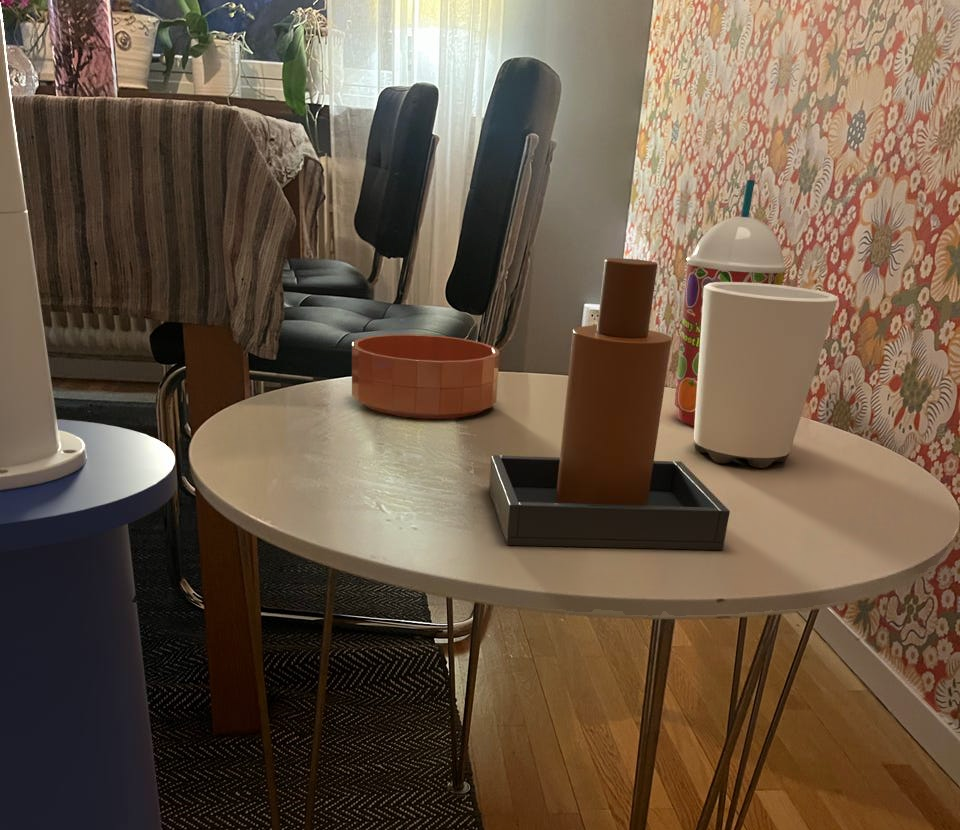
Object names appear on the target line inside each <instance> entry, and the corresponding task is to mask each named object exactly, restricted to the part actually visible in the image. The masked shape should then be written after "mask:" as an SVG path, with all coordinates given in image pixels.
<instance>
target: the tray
mask: <svg viewBox="0 0 960 830" xmlns="http://www.w3.org/2000/svg"><path fill="white" fill-rule="evenodd" d="M559 463H560V457H558V456H557V457H555V456H554V457H552V456H528V455H526V456H524V455H523V456H522V455H498V454H492V455H490V469H489V484H488V492H489V495H490V497H491V498H490V499H491V501H492V504H493V507H494V510H495V513H496V516H497V519H498V522H499V525H500V529H501V532H502V534H503V538H504V542H505V545H506V546H530V547H531V546H532V547H533V546H534V547H572V548H573V547H575V548H576V547H577V548H621V549H624V548H625V549H660V550H661V549H662V550H663V549H664V550H667V549H668V550H702V551H703V550H705V551H723V550H724V545H725V540H726V535H727V529H728V524H729V519H730V515H731V514H730V512H731V511H730V509H729V508H728V507H727V506H726V505H725V504H723V502H722V501H721V500H720V499H719V498H718V497H717V496H716V495H715V494H714V493H713V492H712V491H711V489H709V488H708V487H707V486H706V485H705V484H704V483H703V482H702V481H701V480H700V479H699V477H697V476H696V475H695V474H694V473H693V471H691V470H690V469H689V467H687V466H686V464H685V463H684V462H683V461H677V460H676V461H673V460H672V461H670V460H654V462H653V469H652V476H651V482H650V489H649V496H648V503H647V506H639V505H604V504H570V503H555V502H556V493H557V483H558V473H559Z"/></svg>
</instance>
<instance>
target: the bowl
mask: <svg viewBox="0 0 960 830" xmlns="http://www.w3.org/2000/svg"><path fill="white" fill-rule="evenodd" d="M500 354H501V353H500V351H499V350H498V348H496V347H495V346H492V345H490V344H488V343H485V342H480V341H477V340H472V339H465V338H460V337H454V336H444V335H432V334H416V333H415V334H413V333H412V334H409V333H407V334H401V333H399V334H382V335H380V334H379V335H371V336H365V337H361V338H358V339H356V340H353V341H352V343H351V397H352V398H353V399H354V400H355V401H357V402H358V403H361V404H363V405H364V406H365V407H367V408H368V409H370V410H372V411H374V412H375V411H376V412H379V413H383V414H385V415H390V416H395V417H396V416H397V417H403V418H413V419H429V420H432V419H433V420H443V419H446V420H447V419H460V418H466V417H471V416H475V415H477V414H480V413H482V412H483V411H484V410H487V409H490V408H492V407H493V406H494V405H495V404H496V403H497V396H498V395H497V394H498V383H499V382H498V380H499V368H500Z"/></svg>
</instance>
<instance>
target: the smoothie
mask: <svg viewBox="0 0 960 830" xmlns="http://www.w3.org/2000/svg"><path fill="white" fill-rule="evenodd" d="M755 183H756V180H755V179H746V182H745V189H744V194H743V199H742V205H741V207H742V208H741V212H740V215H736V216H732V217H728V218H726V219H723V220H722V221H719V222H717V223H716V224H713V226H711V227H710V228H709V229H708V230H707V231H706V232H705V233H704V234H703V236H702V237H701V238H700V240H699V241H698V243H697V244H696V246H695V248H694V249H693V252H692V254H691V255H690V256H688V257H687V258H686V264H687V269H686V275H685V278H686V279H685V286H684V298H683V309H682V320H681V331H680V342H679V352H678V363H677V374H676V383H675V384H676V386H675V395H674V396H675V397H674V406H675V407H677V408H678V420H679V421H681V422H682V423H683V424H686V425H688V426H691V427H694V426H695V411H696V396H697V381H698V366H699V351H700V336H701V321H702V306H703V291H704V286H705V285H707V284H709V283H714V282H743V283H760V284H773V285H782V286H784V285H783V284H784V280H785V275H786V273H787V270H788V265H787V264H786V263H785V261H784V254H783V251H782V246H781V244H780V241H779V239H778V237H777V235H776V234H775V232H774V230H772V229H771V228H770V227H769V225H767V224H766V223H764V222H763V221H761V220H759V219H758V218H756V217H752V216H750V213H751V212H750V211H751V205H752V201H753V200H752V199H753V193H754V190H755V189H754V187H755Z"/></svg>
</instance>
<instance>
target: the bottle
mask: <svg viewBox="0 0 960 830" xmlns="http://www.w3.org/2000/svg"><path fill="white" fill-rule="evenodd" d="M657 271H658V263H657V262H656V261H651V260H647V259H634V258H623V257H620V258H618V257H610V258H605V259H604V264H603V273H602V282H601V290H600V297H599V298H600V299H599V308H598V317H597V325H583V326H578V327H575V328H573V329H572V335H571V336H572V338H571V345H570V346H571V347H570V355H569V366H568V375H567V376H568V377H567V378H568V379H567V386H566V395H565V406H564V415H563V424H562V425H563V426H562V434H561V446H560V454H559V458H560V463H559V473H558V483H557V493H556V502H555V503H570V504H604V505H639V506H647V503H648V496H649V489H650V482H651V476H652V469H653V462H654V461H655V455H656V450H657V449H656V448H657V442H658V435H659V427H660V421H661V414H662V409H663V408H662V407H663V400H664V393H665V386H666V381H667V374H668V367H669V360H670V354H671V346H672V341H673V339H672V336H670V335H668V334H666V333H663V332H660V331H655V330H650V323H651V315H652V308H653V302H654V294H655V285H656V279H657V273H658V272H657Z"/></svg>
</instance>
